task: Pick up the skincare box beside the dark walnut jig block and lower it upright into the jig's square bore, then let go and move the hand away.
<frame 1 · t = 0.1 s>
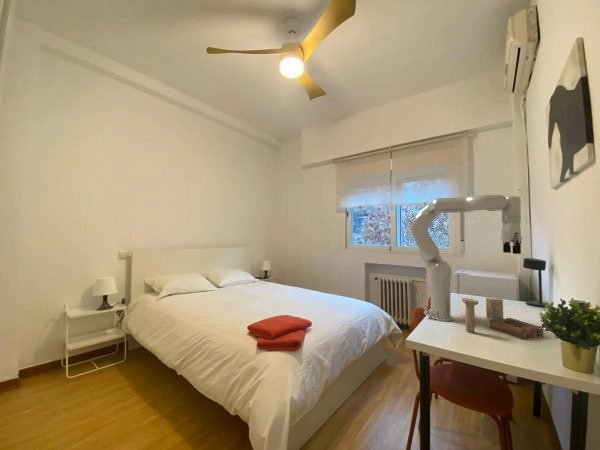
hand: (511, 253, 128), 37 cm above the table, tool pointing down, fingers open, 9 cm apart
jig: (515, 332, 118), on the table
handle: (470, 332, 117), on the table
skincare box: (494, 321, 133), on the table
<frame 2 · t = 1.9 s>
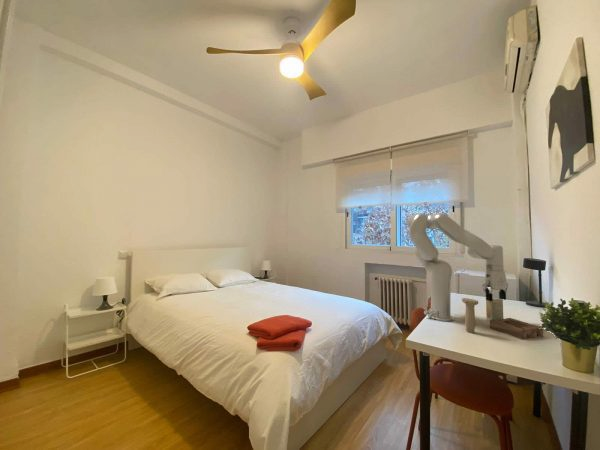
hand: (496, 299, 134), 11 cm above the table, tool pointing down, fingers open, 9 cm apart
nothing on the table moved.
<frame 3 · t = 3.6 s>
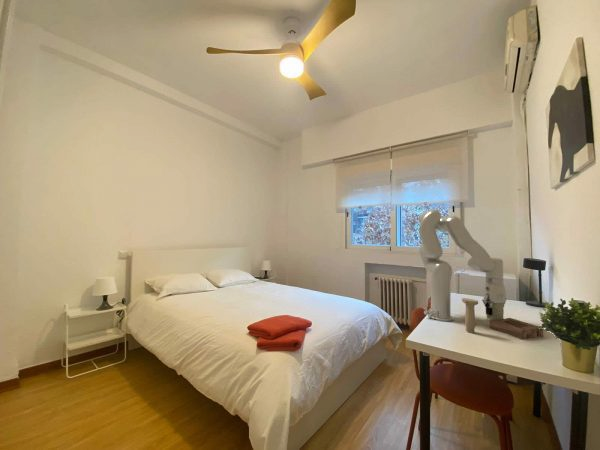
hand: (494, 314, 133), 4 cm above the table, tool pointing down, fingers closed on skincare box, 7 cm apart
skincare box: (494, 321, 133), on the table, touching gripper
everything else where it was.
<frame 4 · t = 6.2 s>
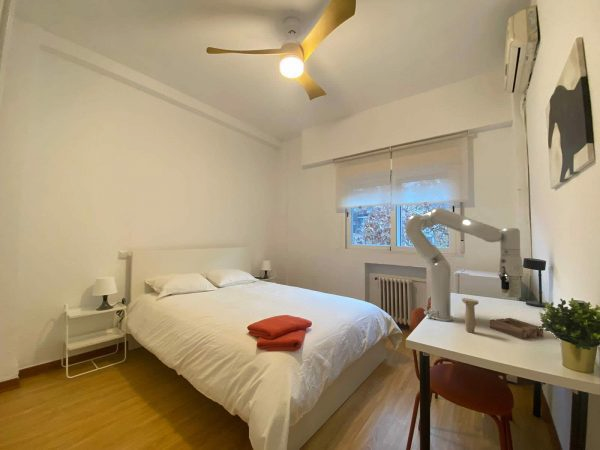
hand: (510, 288, 122), 20 cm above the table, tool pointing down, fingers closed on skincare box, 7 cm apart
skincare box: (511, 297, 122), point 16 cm above the table, touching gripper
everything else where it was.
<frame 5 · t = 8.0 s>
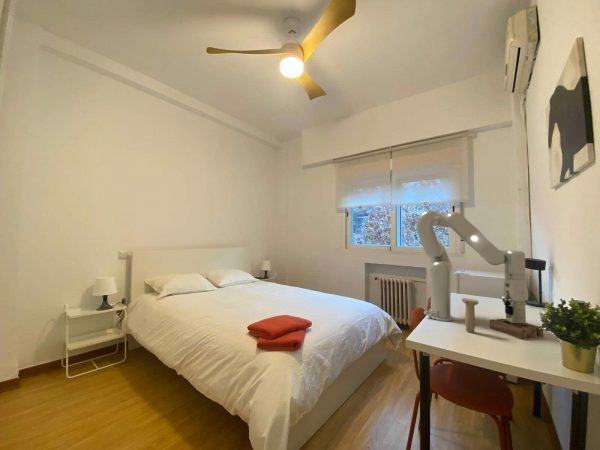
hand: (515, 313, 118), 9 cm above the table, tool pointing down, fingers closed on skincare box, 7 cm apart
skincare box: (515, 322, 118), point 5 cm above the table, touching gripper
everything else where it was.
when the fingers open (5 cm above the table, at t = 9.2 s): skincare box drops 1 cm, resting in jig.
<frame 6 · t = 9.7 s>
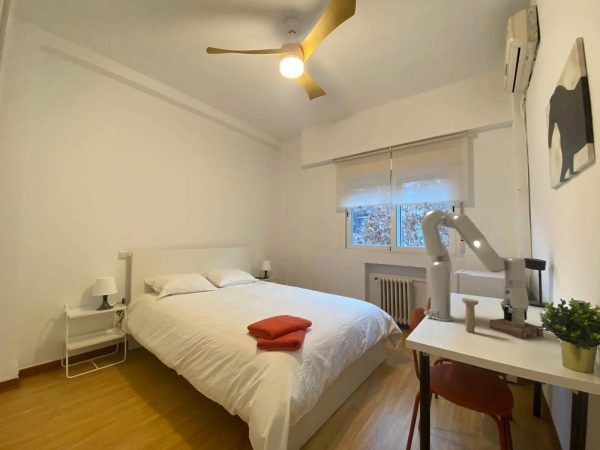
hand: (515, 319, 118), 6 cm above the table, tool pointing down, fingers open, 9 cm apart
skincare box: (514, 332, 118), resting in jig
everything else where it was.
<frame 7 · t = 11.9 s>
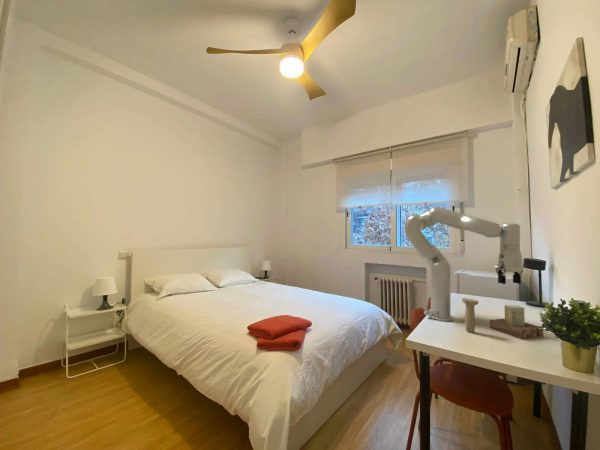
hand: (509, 283, 122), 23 cm above the table, tool pointing down, fingers open, 9 cm apart
nothing on the table moved.
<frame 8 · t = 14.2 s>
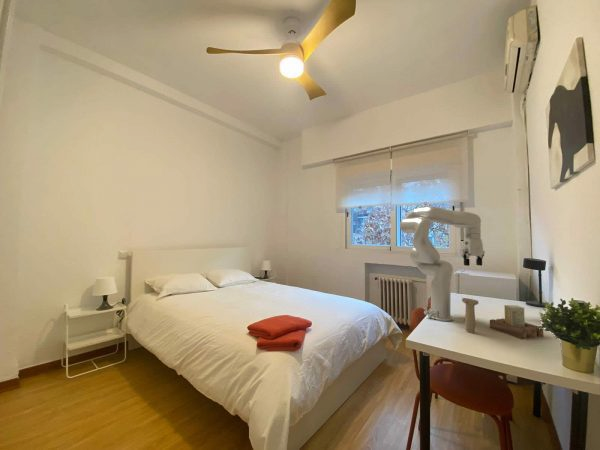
hand: (472, 265, 147), 28 cm above the table, tool pointing down, fingers open, 9 cm apart
nothing on the table moved.
at the end: skincare box 0.4 cm off-centre on the jig, point 0.0 cm above the jig's base; skincare box tilted 0°; the gripper is holding nothing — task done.
